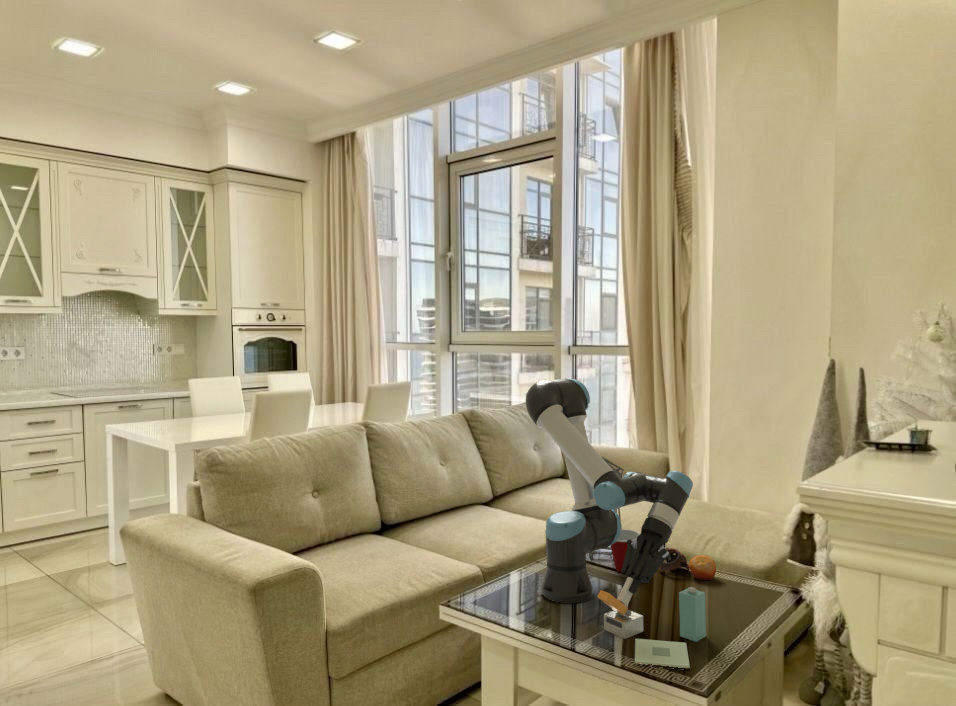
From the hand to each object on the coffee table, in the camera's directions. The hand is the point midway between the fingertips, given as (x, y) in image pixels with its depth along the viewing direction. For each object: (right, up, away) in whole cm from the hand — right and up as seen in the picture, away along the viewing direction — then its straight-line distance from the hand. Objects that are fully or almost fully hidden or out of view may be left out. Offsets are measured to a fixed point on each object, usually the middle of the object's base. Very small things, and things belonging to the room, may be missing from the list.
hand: (622, 602), depth 165 cm
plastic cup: (+11, -7, +46) cm, 48 cm away
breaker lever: (+1, -3, +1) cm, 3 cm away
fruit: (+34, -7, +37) cm, 51 cm away
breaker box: (+1, -8, +1) cm, 8 cm away
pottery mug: (+27, -7, +45) cm, 53 cm away
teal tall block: (+17, -7, -3) cm, 19 cm away
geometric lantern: (+7, -8, +62) cm, 63 cm away
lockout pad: (+7, -8, -12) cm, 16 cm away
